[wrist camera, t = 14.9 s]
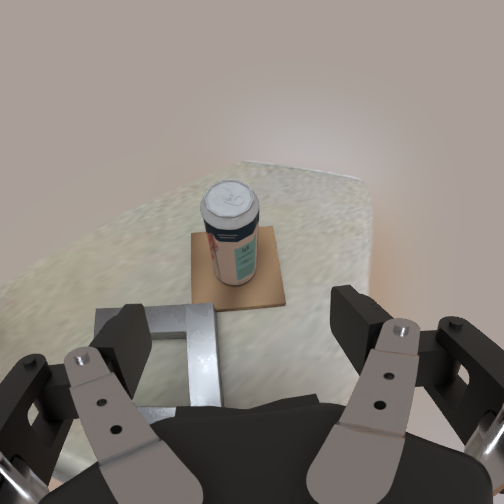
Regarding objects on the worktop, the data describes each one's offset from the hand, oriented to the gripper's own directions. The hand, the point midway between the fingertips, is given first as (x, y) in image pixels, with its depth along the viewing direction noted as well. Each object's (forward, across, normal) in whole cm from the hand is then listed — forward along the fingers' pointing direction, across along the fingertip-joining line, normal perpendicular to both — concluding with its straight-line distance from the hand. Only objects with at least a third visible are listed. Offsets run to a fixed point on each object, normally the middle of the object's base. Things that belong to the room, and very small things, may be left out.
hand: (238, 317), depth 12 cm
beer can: (+21, 0, +5) cm, 21 cm away
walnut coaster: (+21, 0, +5) cm, 22 cm away
